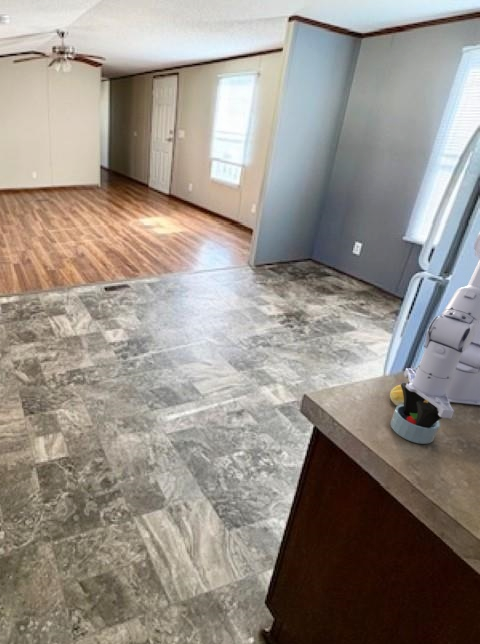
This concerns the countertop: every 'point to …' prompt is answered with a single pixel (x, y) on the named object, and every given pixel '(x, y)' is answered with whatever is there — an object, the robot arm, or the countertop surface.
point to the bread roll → (398, 396)
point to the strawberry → (412, 418)
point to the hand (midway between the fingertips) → (414, 422)
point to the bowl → (412, 428)
